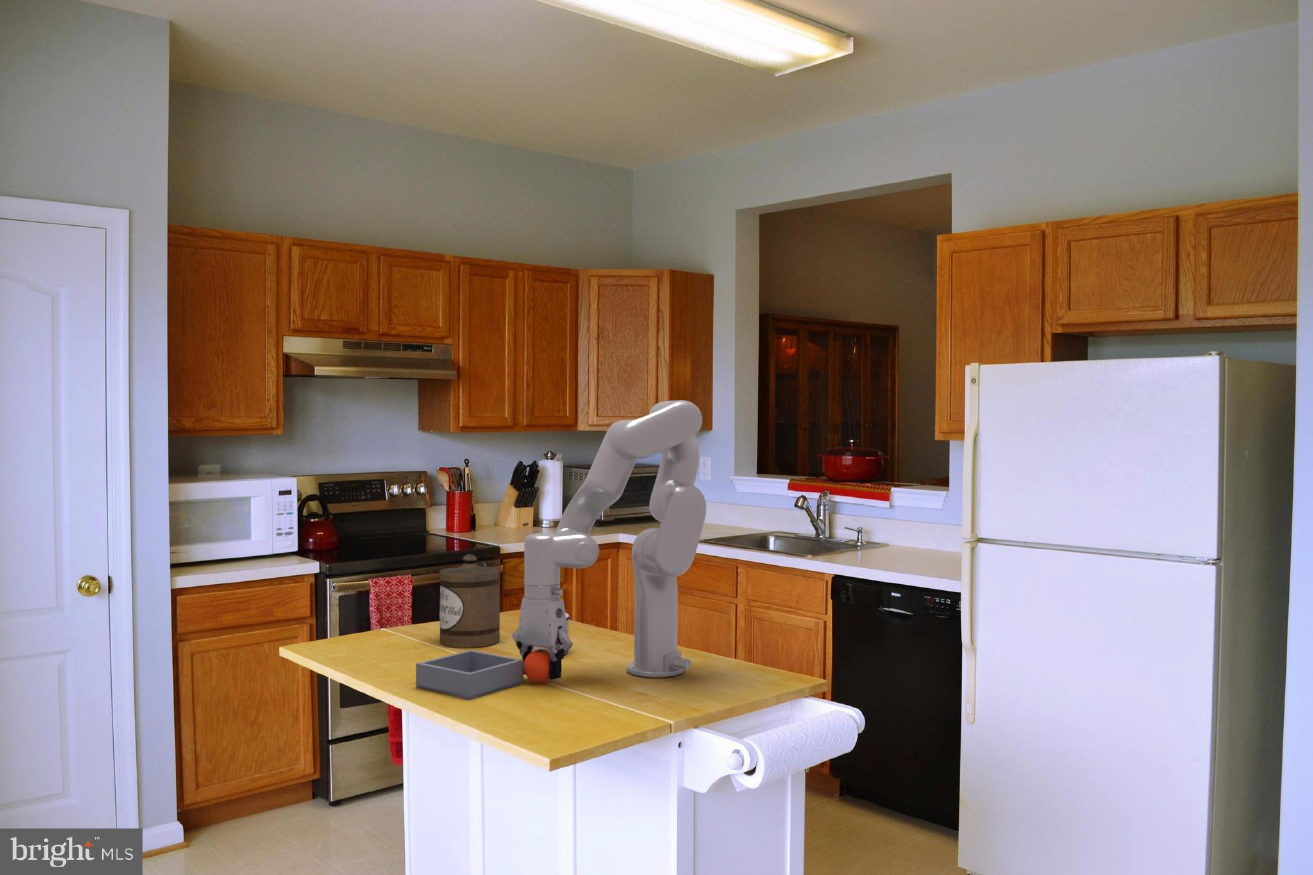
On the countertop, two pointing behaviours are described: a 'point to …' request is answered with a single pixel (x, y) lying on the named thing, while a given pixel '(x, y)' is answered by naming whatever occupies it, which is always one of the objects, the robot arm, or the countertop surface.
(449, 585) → the wooden container
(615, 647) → the countertop surface
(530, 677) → the clementine
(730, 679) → the countertop surface
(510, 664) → the bin
